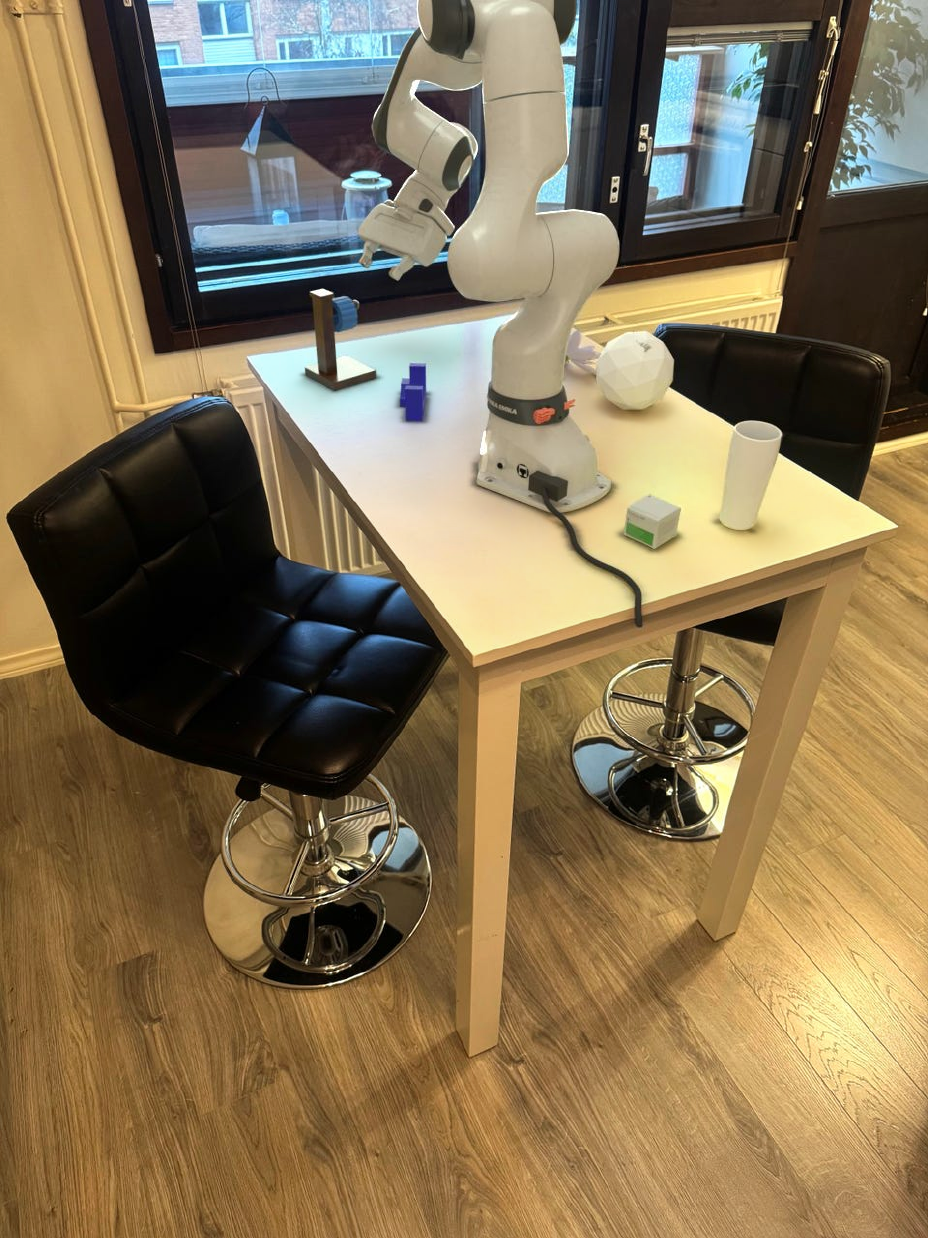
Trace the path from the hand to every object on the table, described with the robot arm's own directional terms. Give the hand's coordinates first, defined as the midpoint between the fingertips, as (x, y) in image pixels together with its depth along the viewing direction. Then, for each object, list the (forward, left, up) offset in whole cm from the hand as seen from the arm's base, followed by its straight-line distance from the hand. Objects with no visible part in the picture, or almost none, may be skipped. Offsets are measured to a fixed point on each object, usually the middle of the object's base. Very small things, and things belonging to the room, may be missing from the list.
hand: (377, 271), depth 171 cm
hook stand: (0, +10, -18) cm, 21 cm away
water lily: (-28, -27, -18) cm, 43 cm away
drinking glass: (-83, -4, -18) cm, 85 cm away
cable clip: (-20, +8, -18) cm, 28 cm away
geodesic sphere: (-45, -24, -18) cm, 54 cm away
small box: (-77, +9, -18) cm, 80 cm away
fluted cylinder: (0, +9, -9) cm, 13 cm away
